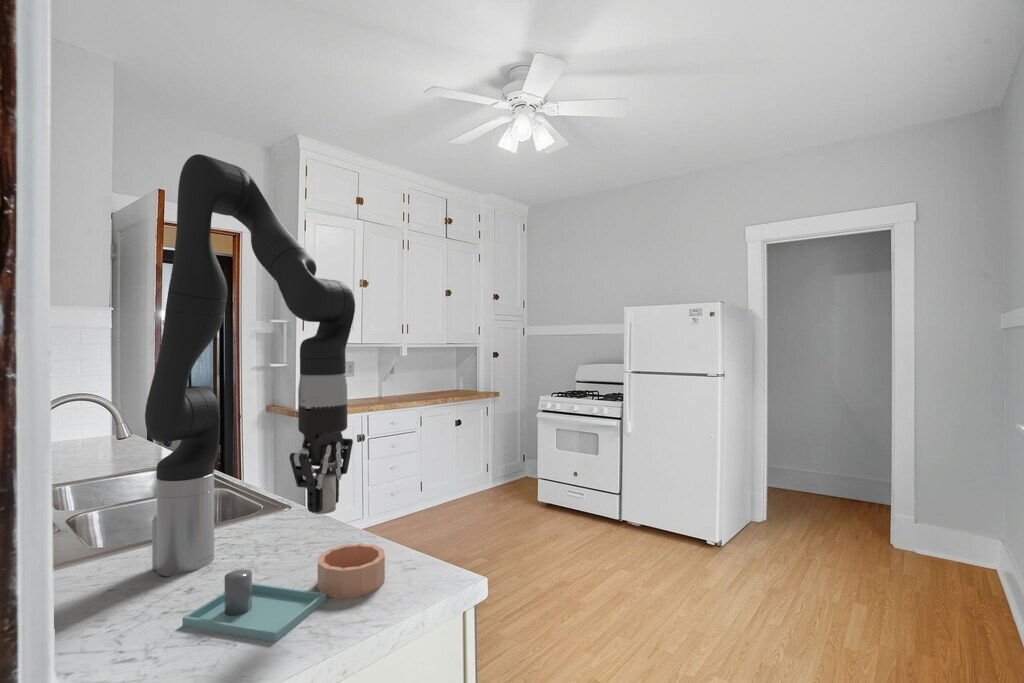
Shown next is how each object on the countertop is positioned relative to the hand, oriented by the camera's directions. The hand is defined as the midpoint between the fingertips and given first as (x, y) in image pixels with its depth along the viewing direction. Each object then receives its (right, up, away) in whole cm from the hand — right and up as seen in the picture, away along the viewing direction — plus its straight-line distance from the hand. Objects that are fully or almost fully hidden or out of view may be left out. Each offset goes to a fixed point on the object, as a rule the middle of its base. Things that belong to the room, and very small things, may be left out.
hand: (323, 506), depth 88 cm
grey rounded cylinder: (-12, -15, -4) cm, 19 cm away
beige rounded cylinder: (0, -1, 0) cm, 1 cm away
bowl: (+3, -15, +6) cm, 17 cm away
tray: (-9, -15, -5) cm, 18 cm away
